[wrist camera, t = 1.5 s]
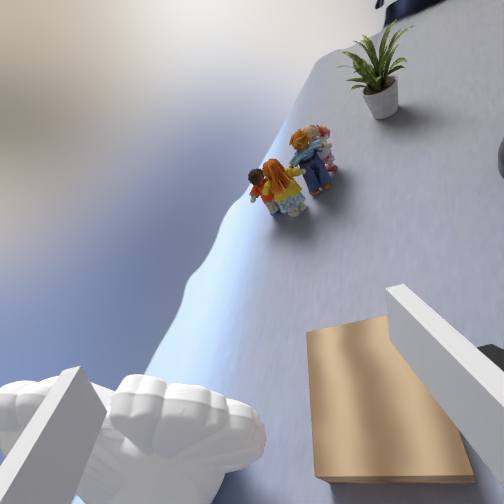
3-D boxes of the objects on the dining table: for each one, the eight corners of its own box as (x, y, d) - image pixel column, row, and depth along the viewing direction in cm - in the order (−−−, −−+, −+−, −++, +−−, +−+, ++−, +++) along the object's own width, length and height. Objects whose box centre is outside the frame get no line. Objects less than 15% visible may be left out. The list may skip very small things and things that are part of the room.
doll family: (337, 157, 67) (314, 101, 59) (368, 168, 60) (347, 106, 52) (262, 219, 67) (228, 172, 59) (283, 238, 60) (248, 187, 51)
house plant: (430, 80, 68) (418, -4, 58) (427, 116, 60) (412, 27, 50) (364, 102, 76) (343, 32, 66) (354, 136, 69) (328, 63, 59)
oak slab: (422, 326, 37) (416, 309, 34) (476, 483, 27) (473, 475, 24) (317, 345, 42) (306, 332, 40) (329, 483, 32) (314, 476, 29)
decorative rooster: (119, 521, 41) (-112, 496, 25) (166, 394, 50) (18, 320, 35) (294, 605, 28) (34, 657, 12) (313, 412, 37) (179, 305, 22)
